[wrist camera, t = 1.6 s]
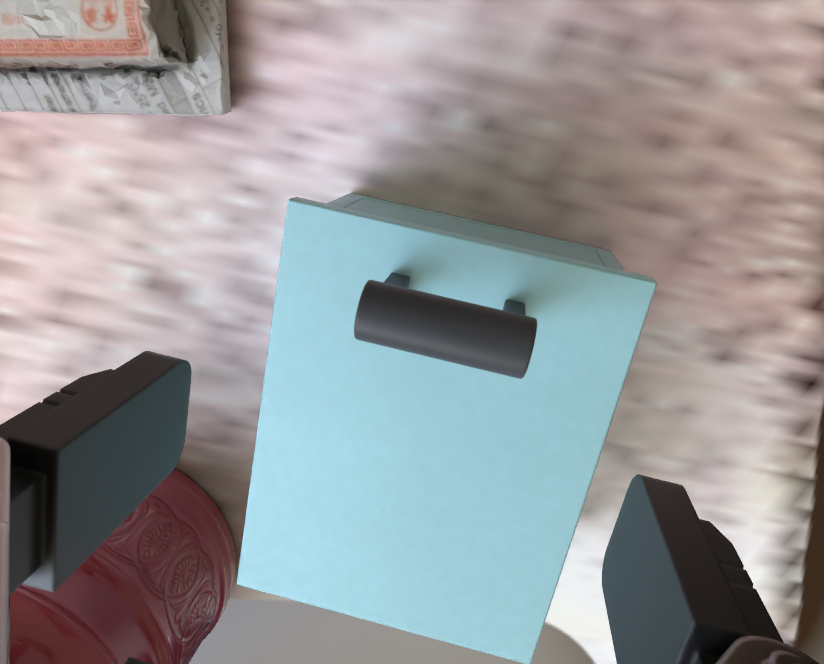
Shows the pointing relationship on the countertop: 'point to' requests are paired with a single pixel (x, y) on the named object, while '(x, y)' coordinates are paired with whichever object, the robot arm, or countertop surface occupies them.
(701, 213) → the countertop surface
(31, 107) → the packaged product
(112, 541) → the kitchen canister
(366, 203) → the box
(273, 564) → the freezer lid
